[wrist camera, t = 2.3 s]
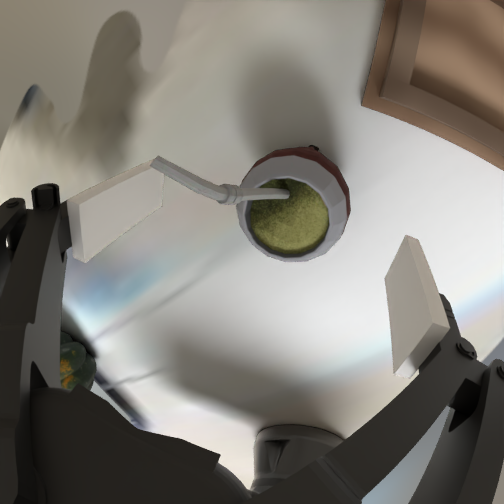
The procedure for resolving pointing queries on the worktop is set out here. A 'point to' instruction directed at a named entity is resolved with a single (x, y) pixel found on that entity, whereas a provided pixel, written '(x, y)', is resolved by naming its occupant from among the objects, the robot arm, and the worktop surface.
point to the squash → (75, 364)
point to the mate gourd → (282, 201)
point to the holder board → (443, 71)
